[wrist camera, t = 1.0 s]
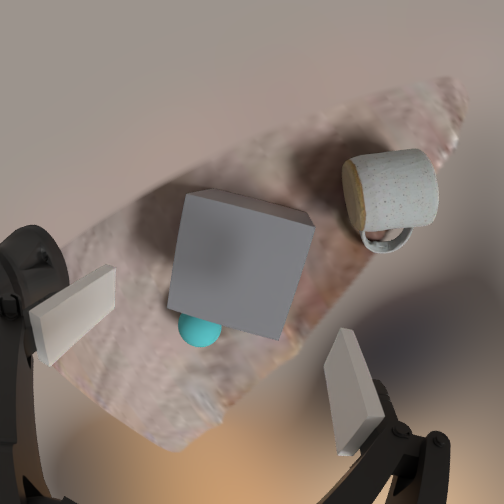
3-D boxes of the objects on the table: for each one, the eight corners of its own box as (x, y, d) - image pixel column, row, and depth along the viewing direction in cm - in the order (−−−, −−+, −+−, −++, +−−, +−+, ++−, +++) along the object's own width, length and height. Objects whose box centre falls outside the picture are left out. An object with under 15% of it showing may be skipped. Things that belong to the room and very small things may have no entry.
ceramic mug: (333, 159, 28) (350, 155, 20) (402, 150, 26) (436, 146, 19) (349, 255, 30) (368, 281, 23) (414, 242, 29) (446, 263, 22)
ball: (183, 326, 35) (169, 347, 30) (189, 292, 33) (174, 310, 28) (220, 337, 34) (211, 361, 30) (229, 304, 33) (220, 324, 28)
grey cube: (195, 275, 33) (167, 308, 24) (213, 188, 30) (186, 193, 21) (280, 298, 32) (278, 340, 24) (306, 212, 29) (315, 227, 21)
